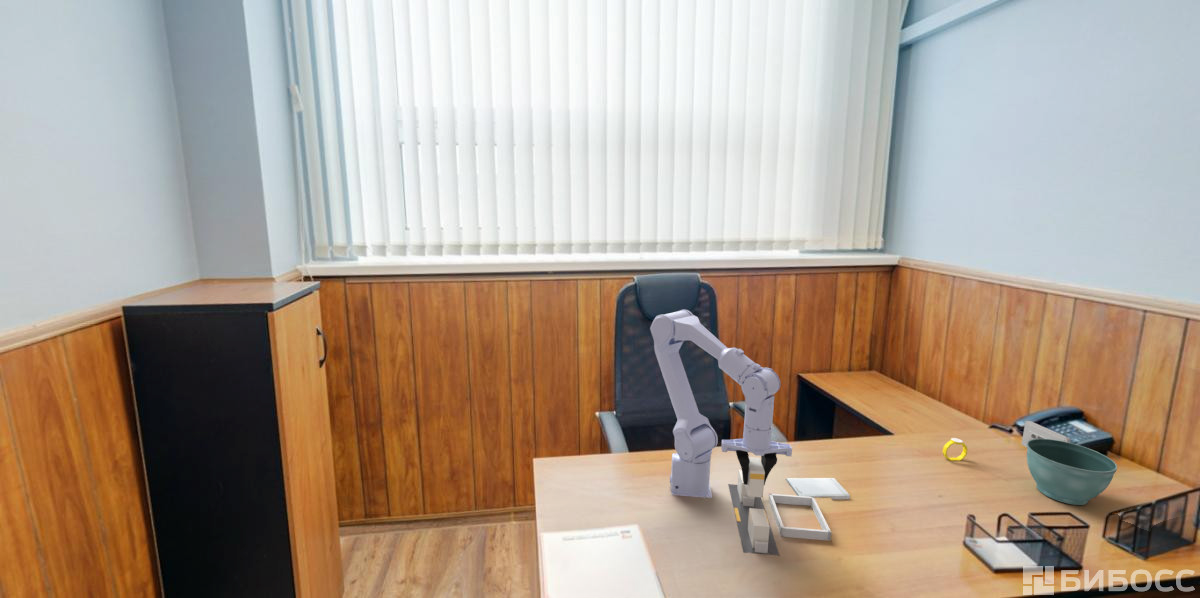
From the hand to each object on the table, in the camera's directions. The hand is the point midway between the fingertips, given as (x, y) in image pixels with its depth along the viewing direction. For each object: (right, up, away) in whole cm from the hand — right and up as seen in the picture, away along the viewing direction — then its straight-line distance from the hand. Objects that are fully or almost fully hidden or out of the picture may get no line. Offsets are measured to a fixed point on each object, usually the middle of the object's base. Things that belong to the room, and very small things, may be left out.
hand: (753, 482), depth 114 cm
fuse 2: (-1, -9, -6) cm, 11 cm away
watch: (+64, -4, +29) cm, 70 cm away
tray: (+10, -9, 0) cm, 13 cm away
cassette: (+91, -4, +33) cm, 97 cm away
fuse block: (0, -9, +2) cm, 9 cm away
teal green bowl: (+79, -8, +12) cm, 80 cm away
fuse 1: (+1, -6, +9) cm, 11 cm away
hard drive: (+19, -7, +13) cm, 25 cm away
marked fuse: (0, -1, 0) cm, 1 cm away
